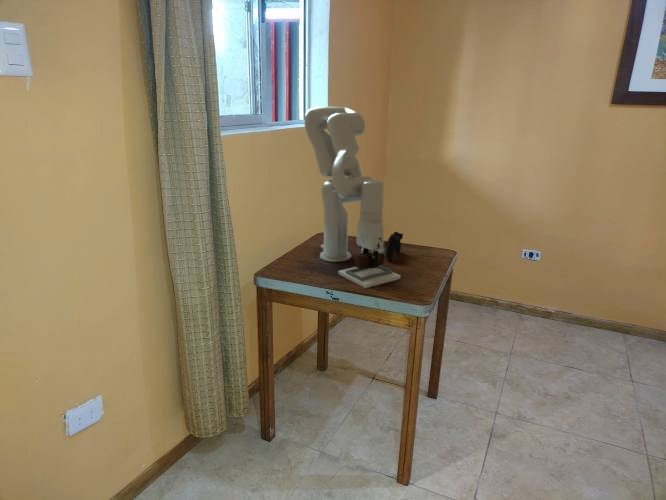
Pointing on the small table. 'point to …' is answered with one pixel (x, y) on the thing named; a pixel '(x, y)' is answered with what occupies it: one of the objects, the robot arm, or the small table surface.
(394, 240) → the gaming controller
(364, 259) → the brick
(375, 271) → the baseplate
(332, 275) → the small table surface
